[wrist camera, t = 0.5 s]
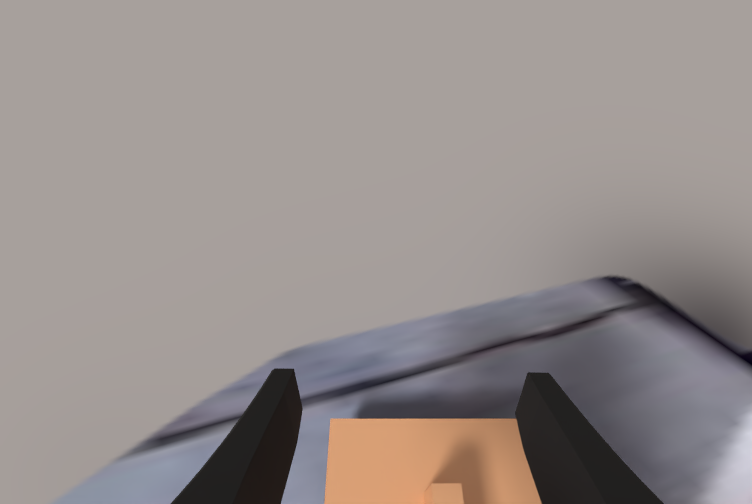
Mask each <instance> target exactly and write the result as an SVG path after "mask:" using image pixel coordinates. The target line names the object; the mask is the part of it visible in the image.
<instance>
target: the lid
mask: <svg viewBox="0 0 752 504" xmlns="http://www.w3.org/2000/svg"><path fill="white" fill-rule="evenodd" d="M324 504H542V503H541V500H540V497H539V494H538V491H537V488H536V485H535V483H534V480H533V477H532V474H531V471H530V468H529V465H528V462H527V459H526V456H525V453H524V450H523V446H522V442H521V437H520V433H519V428H518V424H517V419H331V420H330V434H329V448H328V462H327V475H326V489H325V503H324Z"/></svg>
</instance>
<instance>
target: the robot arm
mask: <svg viewBox="0 0 752 504" xmlns="http://www.w3.org/2000/svg"><path fill="white" fill-rule="evenodd" d="M515 414H516V419H517V424H518V428H519V433H520V437H521V442H522V446H523V450H524V453H525V456H526V459H527V462H528V465H529V468H530V471H531V474H532V477H533V480H534V483H535V485H536V488H537V491H538V494H539V497H540V500H541V503H542V504H664V503H663V502H662V501H661V500H660V499H659V498H658V497H657V496H656V495H655V494H654V493H653V492H652V491H651V490H650V489H649V488H648V487H647V486H646V485H645V484H644V483H643V482H642V481H641V480H640V479H639V478H638V477H637V476H636V475H635V474H634V472H633V471H632V470H631V469H630V468H629V467H628V466H627V465H626V464H625V463H624V462H623V461H622V460H621V458H620V457H619V456H618V455H617V454H616V453H615V452H614V451H613V450H612V448H611V447H610V446H609V445H608V444H607V443H606V442H605V440H604V439H603V438H602V437H601V436H600V435H599V433H598V432H597V431H596V430H595V429H594V428H593V427H592V425H591V424H590V423H589V422H588V421H587V419H586V418H585V417H584V416H583V415H582V413H581V412H580V411H579V410H578V408H577V407H576V406H575V405H574V404H573V402H572V401H571V400H570V399H569V397H568V396H567V395H566V394H565V392H564V391H563V390H562V389H561V387H560V386H559V385H558V384H557V382H556V381H555V380H554V379H553V377H552V376H551V375H550V374H549V373H528V374H527V377H526V380H525V383H524V387H523V390H522V393H521V396H520V400H519V403H518V406H517V409H516V413H515ZM301 416H302V404H301V399H300V395H299V390H298V386H297V381H296V377H295V372H294V369H274V370H272V371H271V373H270V375H269V376H268V378H267V379H266V381H265V382H264V384H263V386H262V387H261V389H260V390H259V392H258V393H257V395H256V396H255V398H254V399H253V401H252V402H251V403H250V405H249V406H248V408H247V409H246V411H245V412H244V414H243V415H242V416H241V418H240V419H239V420H238V422H237V423H236V425H235V426H234V427H233V429H232V430H231V431H230V433H229V434H228V435H227V437H226V438H225V439H224V441H223V442H222V443H221V445H220V446H219V447H218V448H217V450H216V451H215V452H214V453H213V455H212V456H211V457H210V458H209V460H208V461H207V462H206V463H205V465H204V466H203V467H202V468H201V470H200V471H199V472H198V473H197V474H196V475H195V477H194V478H193V479H192V480H191V481H190V483H189V484H188V485H187V486H186V487H185V488H184V489H183V490H182V492H181V493H180V494H179V495H178V496H177V497H176V498H175V499H174V501H173V502H172V503H171V504H281V500H282V497H283V493H284V489H285V486H286V482H287V478H288V475H289V471H290V467H291V464H292V460H293V456H294V452H295V449H296V445H297V440H298V434H299V428H300V422H301Z"/></svg>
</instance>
